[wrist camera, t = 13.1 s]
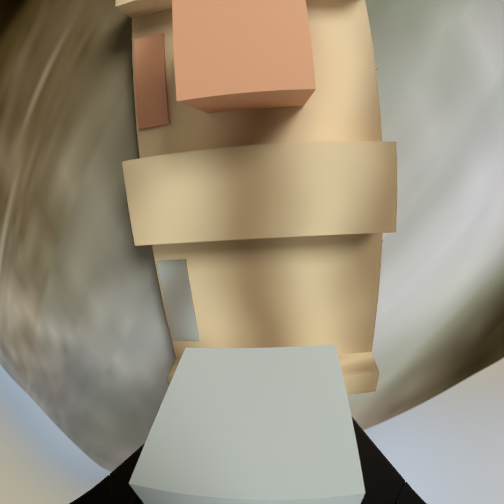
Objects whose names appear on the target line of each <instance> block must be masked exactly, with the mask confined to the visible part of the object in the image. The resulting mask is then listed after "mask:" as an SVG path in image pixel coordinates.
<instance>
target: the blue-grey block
mask: <svg viewBox="0 0 504 504" xmlns="http://www.w3.org/2000/svg"><path fill="white" fill-rule="evenodd" d="M129 484H130V486H131V487H132V488H133V490H134V491H135V492H136V494H137V495H138V496H139V498H140V499H141V500H142V502H143V503H144V504H361V502H362V499H363V497H364V495H365V488H364V482H363V476H362V470H361V464H360V459H359V453H358V447H357V442H356V437H355V432H354V427H353V421H352V416H351V412H350V407H349V402H348V397H347V392H346V388H345V383H344V379H343V374H342V370H341V365H340V361H339V357H338V352H337V348H336V344H332V345H317V346H298V347H273V348H185V350H184V352H183V355H182V357H181V359H180V362H179V364H178V366H177V369H176V371H175V373H174V376H173V378H172V380H171V383H170V385H169V387H168V390H167V392H166V394H165V397H164V399H163V401H162V404H161V406H160V409H159V411H158V413H157V416H156V418H155V420H154V423H153V425H152V428H151V430H150V433H149V435H148V437H147V440H146V442H145V445H144V447H143V449H142V452H141V454H140V457H139V459H138V462H137V464H136V467H135V469H134V472H133V474H132V477H131V479H130V482H129Z"/></svg>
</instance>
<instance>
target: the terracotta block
mask: <svg viewBox="0 0 504 504" xmlns="http://www.w3.org/2000/svg"><path fill="white" fill-rule="evenodd" d="M172 18H173V46H174V67H175V84H176V99H177V102H180V103H182V104H185V105H188V106H190V107H193V108H196V109H198V110H201V111H203V112H206V113H217V112H226V111H236V110H247V109H260V108H276V107H298V106H304V105H305V104H306V102H307V101H308V100H309V98H310V97H311V95H312V94H313V93H314V91H315V90H316V83H315V73H314V63H313V54H312V45H311V36H310V28H309V21H308V13H307V6H306V0H172Z"/></svg>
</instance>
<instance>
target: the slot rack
mask: <svg viewBox="0 0 504 504" xmlns="http://www.w3.org/2000/svg"><path fill="white" fill-rule="evenodd" d="M306 6H307V13H308V21H309V28H310V36H311V45H312V54H313V63H314V73H315V83H316V90H315V91H314V93H313V94H312V95H311V97H310V98H309V100H308V101H307V102H306V104H305V105H304V106H298V107H276V108H260V109H247V110H236V111H226V112H217V113H206V112H203V111H201V110H198V109H196V108H193V107H190V106H188V105H185V104H182V103H180V102H177V99H176V84H175V67H174V46H173V18H172V0H116V7H117V8H118V9H120V10H121V11H122V12H124V13H125V14H127V15H128V16H129V17H131V18H132V57H133V82H134V99H135V113H136V126H137V137H138V147H139V156H140V159H134V160H128V161H122V164H123V172H124V180H125V187H126V194H127V201H128V208H129V214H130V220H131V226H132V232H133V238H134V243H135V246H139V245H152V248H153V253H154V259H155V264H156V270H157V275H158V280H159V285H160V290H161V295H162V299H163V304H164V309H165V313H166V318H167V322H168V326H169V331H170V335H171V339H172V343H173V347H174V351H175V355H176V359H175V361H174V364H173V366H172V368H171V370H170V373H169V375H168V377H167V379H168V382H169V385H170V383H171V380H172V378H173V376H174V373H175V371H176V369H177V366H178V364H179V362H180V359H181V357H182V355H183V352H184V350H185V348H273V347H298V346H317V345H332V344H336V348H337V352H338V357H339V361H340V365H341V370H342V374H343V379H344V383H345V388H346V392H347V394H357V393H366V392H374V391H376V386H377V381H378V376H379V371H378V368H377V365H376V362H375V360H374V357H373V354H372V345H373V337H374V329H375V321H376V312H377V303H378V292H379V281H380V267H381V251H382V233H389V232H396V215H397V153H396V142H382V133H381V117H380V104H379V93H378V83H377V74H376V66H375V58H374V51H373V44H372V37H371V31H370V25H369V19H368V14H367V8H366V3H365V0H306Z"/></svg>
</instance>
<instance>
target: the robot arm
mask: <svg viewBox="0 0 504 504" xmlns="http://www.w3.org/2000/svg"><path fill="white" fill-rule="evenodd" d="M352 421H353V427H354V432H355V437H356V442H357V447H358V453H359V459H360V464H361V470H362V476H363V482H364V488H365V495H364V497H363V499H362V502H361V504H426V503H425V502H424V501H423V500H422V499H421V498H420V497H419V496H418V495H417V494H416V493H415V491H414V490H412V488H411V487H410V486H409V484H408V483H407V482H405V480H404V479H403V478H402V476H401V475H400V474H399V473H398V472H397V470H396V469H395V468H394V467H393V466H392V464H391V463H390V462H389V461H388V460H387V459H386V457H385V456H384V455H383V454H382V453H381V451H380V450H379V449H378V448H377V447H376V445H375V444H374V443H373V442H372V441H371V439H370V438H369V437H368V436H367V435H366V433H365V432H364V431H363V430H362V428H361V427H360V426H359V425H358V423H357V422H356V421H355V420H354V419H353V417H352ZM144 445H145V443H144V444H143V445H142V446H141V447H140V448H139V449H138V450H136V451H135V452H134V453H133V454H132V455H131V456H130V457H129V458H128V459H126V460H125V461H124V462H123V463H122V464H121V465H120V466H118V467H117V468H116V469H115V470H114V471H113V472H112V473H110V476H109V475H108V476H107V477H106V478H104V479H103V480H102V481H101V482H100V483H98V484H97V485H96V486H95V487H94V488H92V489H91V490H89V491H88V492H87V493H85V494H84V495H82V496H81V497H79V498H78V499H76V500H74V501H73V502H71V503H70V504H144V503H143V502H142V500H141V499H140V498H139V496H138V495H137V494H136V492H135V491H134V490H133V488H132V487H131V486H130V484H129V482H130V479H131V477H132V474H133V472H134V469H135V467H136V464H137V462H138V459H139V457H140V454H141V452H142V449H143V447H144Z"/></svg>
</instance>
